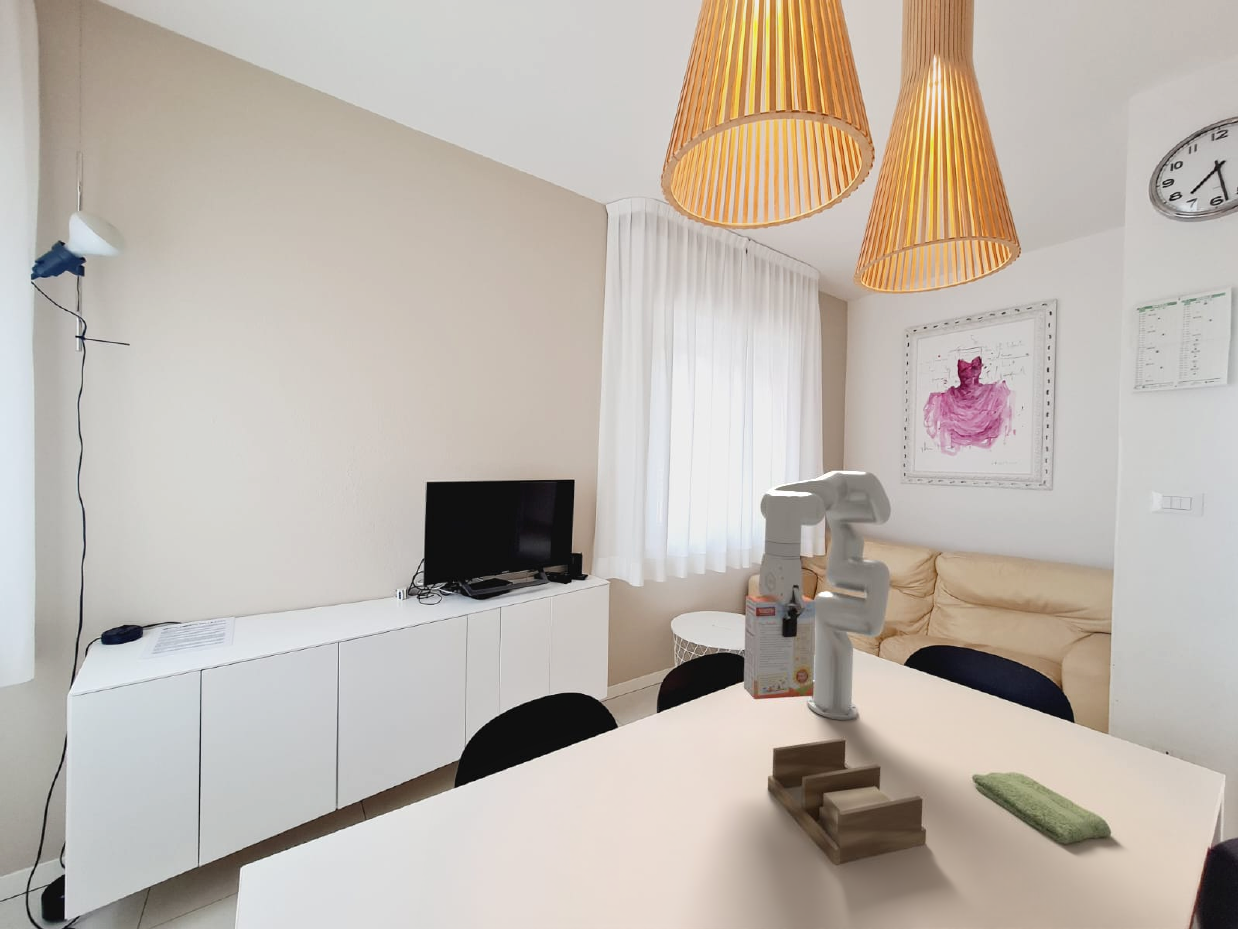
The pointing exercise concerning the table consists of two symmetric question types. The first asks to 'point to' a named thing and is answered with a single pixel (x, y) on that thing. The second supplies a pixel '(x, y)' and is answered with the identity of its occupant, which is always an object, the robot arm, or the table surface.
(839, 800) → the wooden block
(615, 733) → the table surface
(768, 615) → the cracker box
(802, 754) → the rack
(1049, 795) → the washcloth
